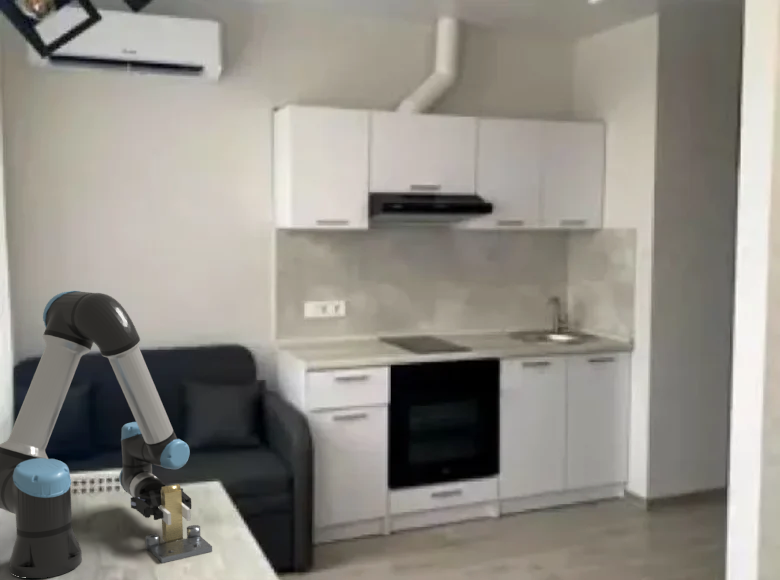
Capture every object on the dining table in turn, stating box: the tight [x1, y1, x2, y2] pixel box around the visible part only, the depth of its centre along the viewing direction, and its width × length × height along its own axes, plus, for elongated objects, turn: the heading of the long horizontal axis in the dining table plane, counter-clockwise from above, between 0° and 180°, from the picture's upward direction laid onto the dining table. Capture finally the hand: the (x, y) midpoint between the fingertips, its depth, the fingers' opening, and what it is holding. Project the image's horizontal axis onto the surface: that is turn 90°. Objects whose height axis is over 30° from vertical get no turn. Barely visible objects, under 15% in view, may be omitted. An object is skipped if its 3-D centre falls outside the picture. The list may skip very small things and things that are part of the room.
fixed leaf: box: [145, 524, 213, 564], centre depth 200 cm, size 13×11×3 cm
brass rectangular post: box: [161, 483, 184, 543], centre depth 204 cm, size 4×3×13 cm
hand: (179, 517), depth 199 cm, fingers closed on brass rectangular post, 4 cm apart
